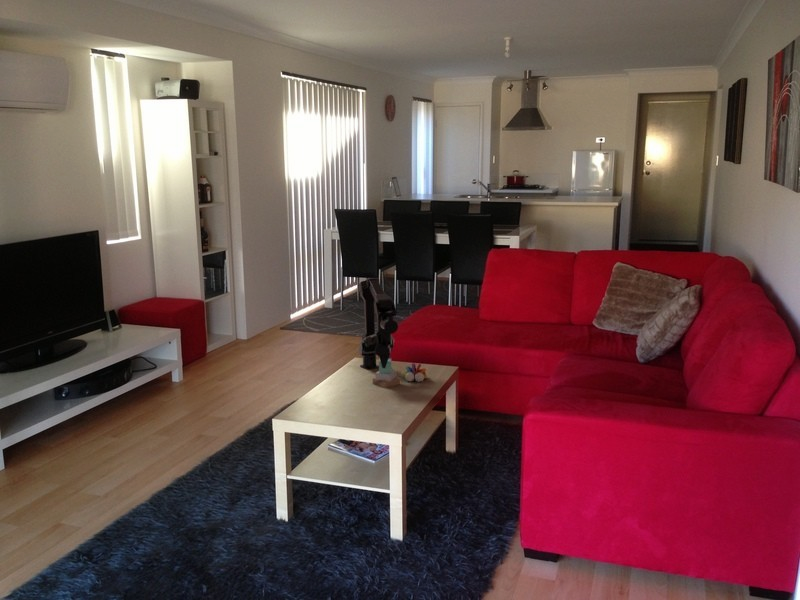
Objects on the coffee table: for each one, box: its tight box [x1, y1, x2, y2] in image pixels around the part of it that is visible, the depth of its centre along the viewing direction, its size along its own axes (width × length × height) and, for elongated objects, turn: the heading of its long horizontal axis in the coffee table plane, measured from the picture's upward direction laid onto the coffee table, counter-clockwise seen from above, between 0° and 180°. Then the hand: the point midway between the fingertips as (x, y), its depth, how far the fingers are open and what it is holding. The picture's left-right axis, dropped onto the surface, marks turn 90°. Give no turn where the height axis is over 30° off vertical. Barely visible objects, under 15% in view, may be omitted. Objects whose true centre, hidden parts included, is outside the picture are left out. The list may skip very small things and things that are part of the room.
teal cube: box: [378, 357, 393, 373], centre depth 293 cm, size 5×5×5 cm
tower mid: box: [375, 369, 398, 381], centre depth 294 cm, size 6×6×3 cm
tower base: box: [372, 377, 401, 389], centre depth 294 cm, size 8×8×3 cm
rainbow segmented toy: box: [403, 362, 428, 383], centre depth 299 cm, size 8×10×7 cm
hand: (385, 365), depth 293 cm, fingers open, 9 cm apart
